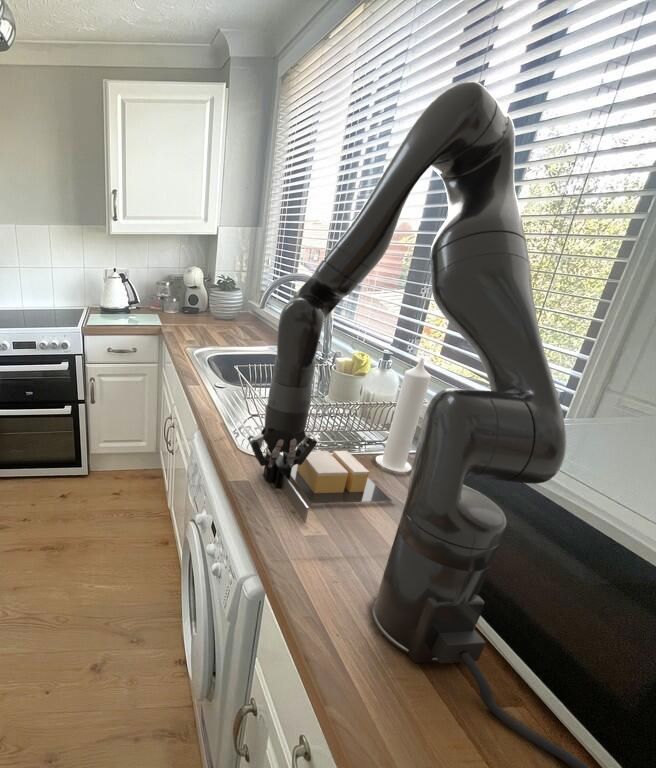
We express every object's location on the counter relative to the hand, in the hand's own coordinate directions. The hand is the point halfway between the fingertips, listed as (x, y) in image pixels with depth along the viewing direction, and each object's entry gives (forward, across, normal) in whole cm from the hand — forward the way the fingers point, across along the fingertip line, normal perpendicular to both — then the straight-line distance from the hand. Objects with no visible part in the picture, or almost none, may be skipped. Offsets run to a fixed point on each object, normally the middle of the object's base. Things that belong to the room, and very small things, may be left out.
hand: (275, 480), depth 84 cm
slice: (0, -14, +1) cm, 14 cm away
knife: (0, 0, +5) cm, 5 cm away
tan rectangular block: (0, -9, +1) cm, 9 cm away
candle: (+1, -29, -5) cm, 29 cm away
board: (0, -12, +1) cm, 12 cm away
